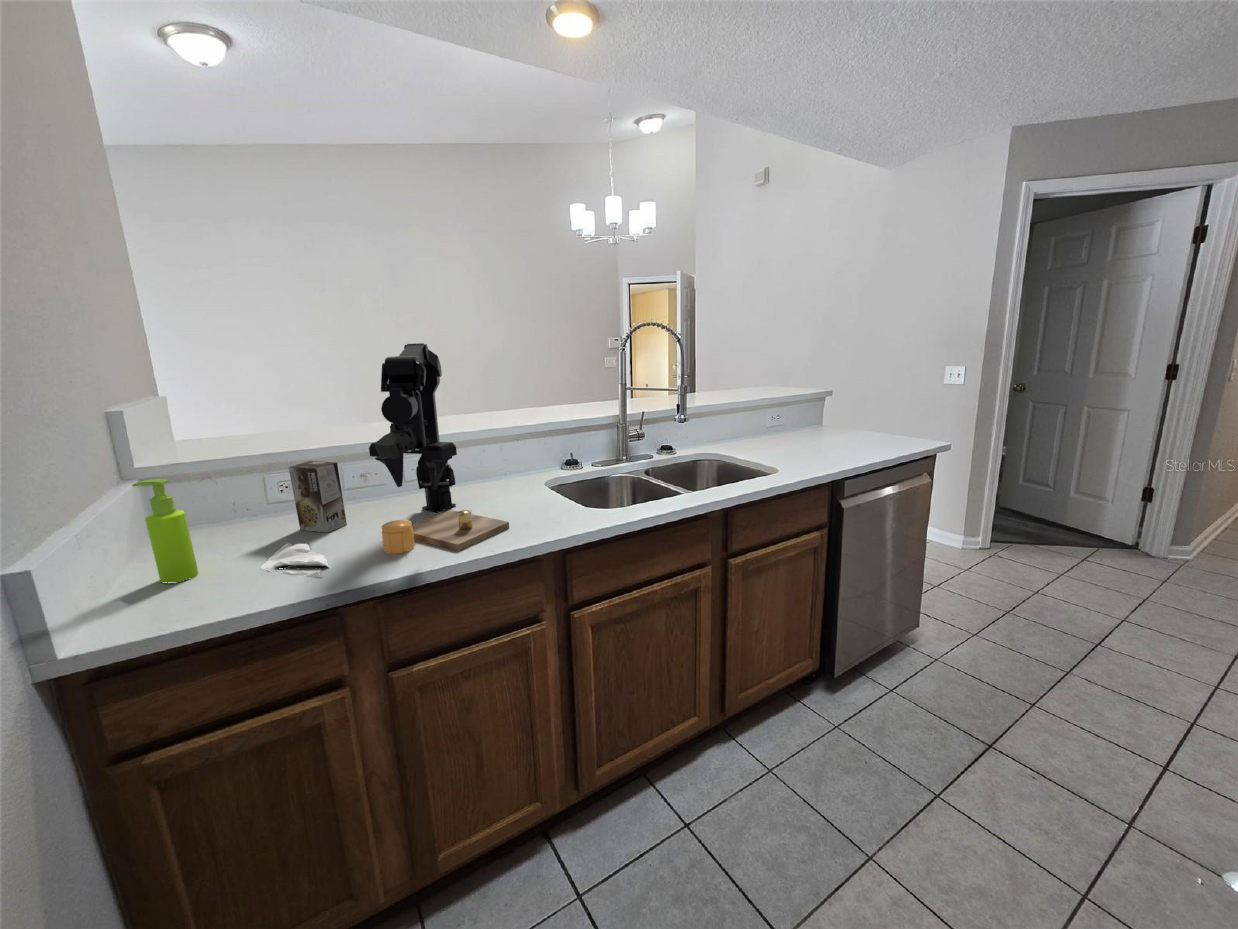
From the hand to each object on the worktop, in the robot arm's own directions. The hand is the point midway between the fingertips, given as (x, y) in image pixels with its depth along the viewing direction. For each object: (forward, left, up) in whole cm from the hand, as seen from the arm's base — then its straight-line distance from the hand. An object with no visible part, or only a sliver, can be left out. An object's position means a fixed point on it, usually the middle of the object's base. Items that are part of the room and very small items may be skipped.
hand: (416, 488), depth 117 cm
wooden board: (0, +9, -13) cm, 16 cm away
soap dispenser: (-30, -35, -13) cm, 48 cm away
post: (+4, +9, -11) cm, 15 cm away
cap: (-3, -4, -13) cm, 14 cm away
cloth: (-17, -19, -14) cm, 29 cm away
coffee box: (-32, -4, -13) cm, 35 cm away
